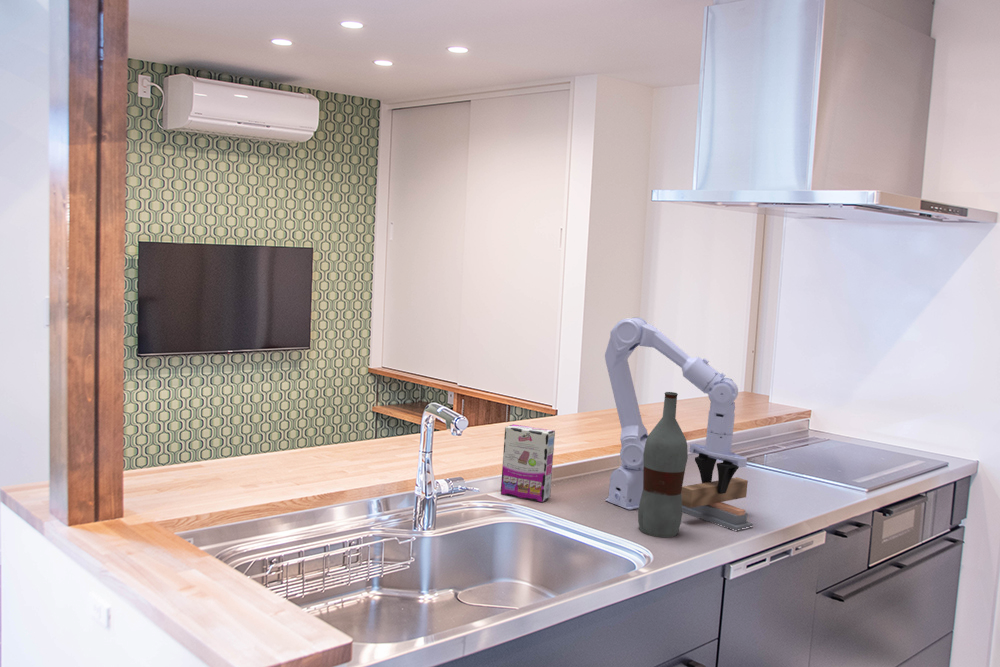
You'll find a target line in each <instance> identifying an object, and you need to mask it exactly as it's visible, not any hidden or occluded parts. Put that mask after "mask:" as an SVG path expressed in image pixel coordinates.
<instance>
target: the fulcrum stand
mask: <svg viewBox="0 0 1000 667" xmlns="http://www.w3.org/2000/svg"><path fill="white" fill-rule="evenodd" d="M684 512H685V514H687V513H688V514H687V515H690V516H692V515H693V517H695V518H697V519H700V518H701V519H700V520H703V519H704V521H706V520H707V521H706V522H708V521H710V522H709V523H711V522H713V523H712V524H714V523H716V524H715V525H717V524H719V525H722V526H725V527H728V528H731V529H734V530H738V529H742V528H746V527H750V526H754V523H753V522H750V521H747V520H748V513H746V509H743V508H740V507H737V506H734V505H731V504H728V503H725V502H719V503H714V504H708V505H703V506H698V507H693V508H689V507H686V506H684V505H682V513H684ZM719 525H718V526H719ZM722 526H721V527H722ZM725 527H724V528H725Z"/></svg>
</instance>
